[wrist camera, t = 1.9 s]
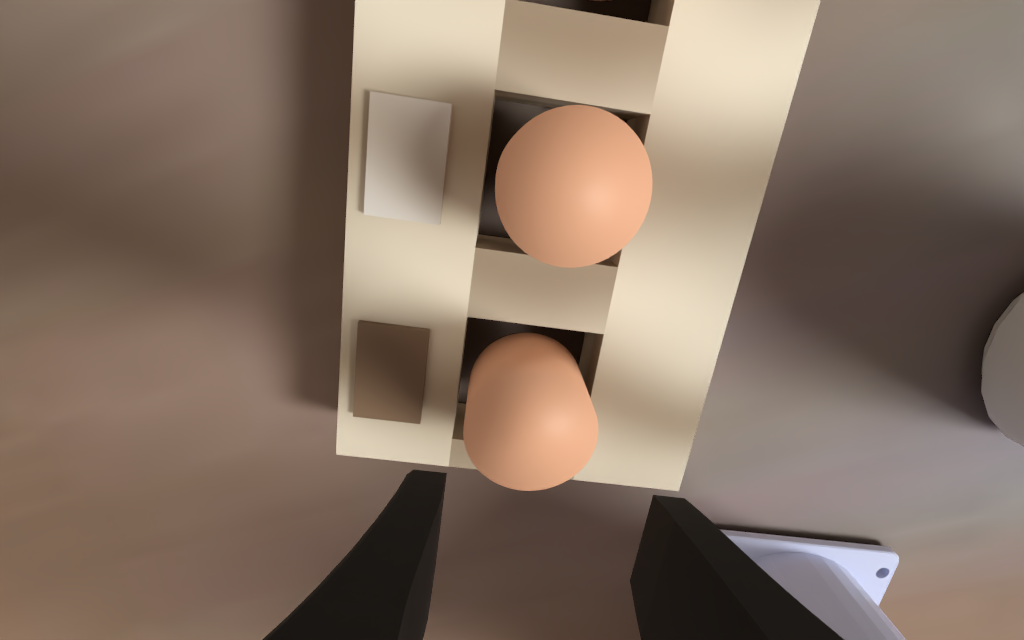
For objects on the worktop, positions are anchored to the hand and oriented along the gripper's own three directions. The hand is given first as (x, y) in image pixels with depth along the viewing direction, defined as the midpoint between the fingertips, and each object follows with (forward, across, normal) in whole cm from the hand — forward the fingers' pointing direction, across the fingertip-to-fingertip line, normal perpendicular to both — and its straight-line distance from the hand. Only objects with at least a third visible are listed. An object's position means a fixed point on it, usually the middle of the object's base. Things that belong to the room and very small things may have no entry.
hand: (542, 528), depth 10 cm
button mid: (+6, 0, -6) cm, 9 cm away
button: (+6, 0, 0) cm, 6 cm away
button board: (+8, 0, -6) cm, 10 cm away
